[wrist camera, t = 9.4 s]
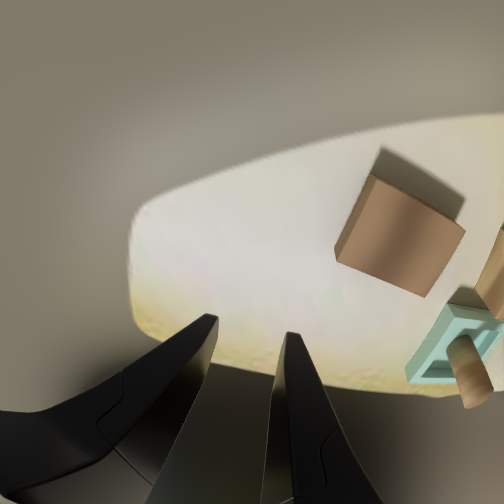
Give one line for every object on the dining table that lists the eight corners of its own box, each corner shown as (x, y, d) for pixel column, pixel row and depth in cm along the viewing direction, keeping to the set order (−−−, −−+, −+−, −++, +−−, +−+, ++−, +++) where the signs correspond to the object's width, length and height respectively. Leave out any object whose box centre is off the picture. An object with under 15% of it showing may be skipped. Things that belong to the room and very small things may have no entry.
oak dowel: (476, 335, 19) (499, 386, 13) (460, 356, 21) (478, 407, 15) (456, 333, 20) (479, 388, 13) (440, 355, 21) (458, 409, 15)
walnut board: (451, 219, 16) (466, 231, 14) (415, 280, 19) (424, 298, 17) (368, 171, 17) (376, 179, 14) (333, 245, 19) (336, 261, 17)
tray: (502, 312, 18) (509, 324, 16) (461, 370, 22) (465, 382, 21) (446, 303, 19) (454, 317, 17) (404, 368, 23) (408, 382, 22)
